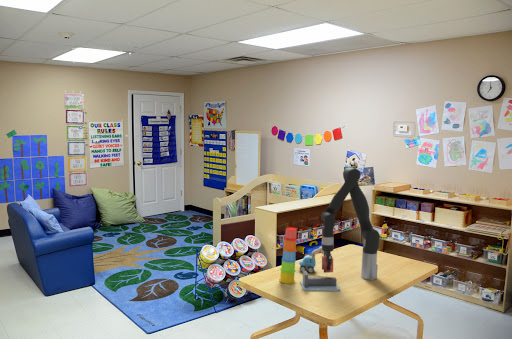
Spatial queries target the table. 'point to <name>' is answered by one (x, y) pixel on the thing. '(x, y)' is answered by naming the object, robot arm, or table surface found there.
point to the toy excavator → (309, 261)
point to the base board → (320, 288)
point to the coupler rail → (318, 280)
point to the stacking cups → (289, 256)
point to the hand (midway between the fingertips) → (327, 268)
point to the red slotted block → (324, 265)
